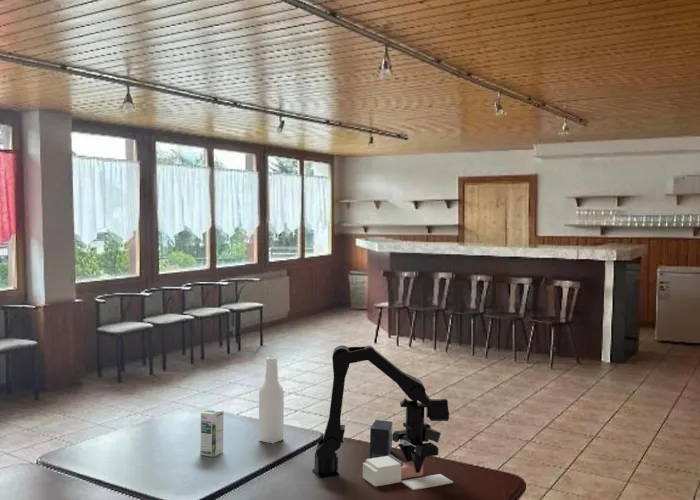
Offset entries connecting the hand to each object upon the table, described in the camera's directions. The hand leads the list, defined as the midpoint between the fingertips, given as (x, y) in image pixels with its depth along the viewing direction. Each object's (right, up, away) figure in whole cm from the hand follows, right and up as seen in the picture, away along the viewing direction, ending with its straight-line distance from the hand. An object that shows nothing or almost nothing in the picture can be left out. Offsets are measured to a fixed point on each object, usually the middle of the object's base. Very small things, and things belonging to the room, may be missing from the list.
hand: (414, 470), depth 206 cm
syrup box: (-67, 0, +17) cm, 69 cm away
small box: (-9, -1, +18) cm, 20 cm away
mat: (+3, -1, -7) cm, 8 cm away
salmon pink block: (-4, -1, -2) cm, 5 cm away
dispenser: (-10, -1, -5) cm, 11 cm away
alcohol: (-49, 0, +32) cm, 58 cm away
